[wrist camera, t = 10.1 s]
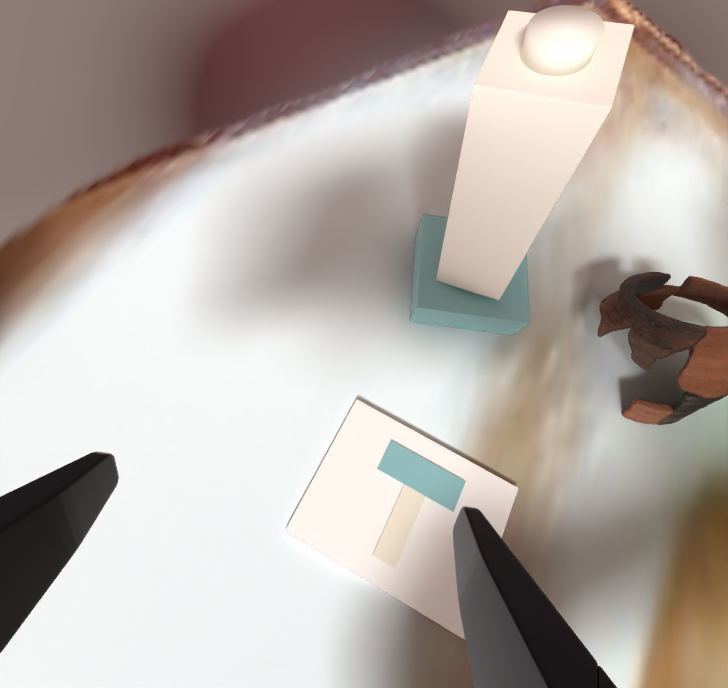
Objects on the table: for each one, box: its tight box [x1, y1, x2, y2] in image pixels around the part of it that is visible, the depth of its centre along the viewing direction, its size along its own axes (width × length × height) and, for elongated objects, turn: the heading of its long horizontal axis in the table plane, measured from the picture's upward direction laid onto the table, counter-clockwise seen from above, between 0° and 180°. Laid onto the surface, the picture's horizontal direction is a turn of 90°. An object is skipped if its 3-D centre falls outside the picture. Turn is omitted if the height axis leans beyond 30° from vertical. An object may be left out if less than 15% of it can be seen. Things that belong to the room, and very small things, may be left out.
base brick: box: [410, 214, 530, 335], centre depth 26 cm, size 8×8×3 cm
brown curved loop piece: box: [597, 272, 728, 425], centre depth 24 cm, size 12×10×8 cm
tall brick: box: [436, 5, 634, 300], centre depth 18 cm, size 4×4×14 cm
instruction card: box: [285, 399, 518, 640], centre depth 21 cm, size 12×9×1 cm
